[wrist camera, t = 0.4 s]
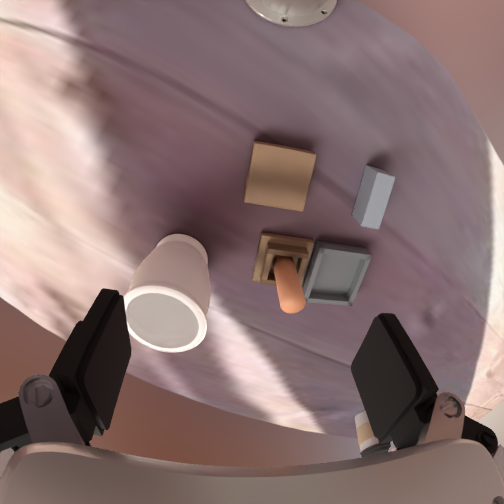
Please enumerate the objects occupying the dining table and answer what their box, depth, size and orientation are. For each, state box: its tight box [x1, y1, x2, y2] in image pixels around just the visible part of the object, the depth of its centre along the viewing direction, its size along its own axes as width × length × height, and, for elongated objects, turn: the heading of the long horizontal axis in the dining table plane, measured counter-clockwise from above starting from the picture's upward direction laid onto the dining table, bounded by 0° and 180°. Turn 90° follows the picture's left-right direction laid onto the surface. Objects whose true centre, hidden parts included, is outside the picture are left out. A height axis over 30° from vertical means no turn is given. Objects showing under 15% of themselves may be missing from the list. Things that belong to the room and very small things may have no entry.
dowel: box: [272, 255, 306, 313], centre depth 41 cm, size 3×3×10 cm
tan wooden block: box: [244, 141, 316, 211], centre depth 38 cm, size 8×8×3 cm
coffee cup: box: [355, 411, 391, 457], centre depth 68 cm, size 9×9×15 cm
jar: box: [124, 234, 211, 352], centre depth 39 cm, size 11×10×15 cm
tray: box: [302, 240, 372, 306], centre depth 46 cm, size 10×9×2 cm
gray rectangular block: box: [352, 165, 395, 229], centre depth 39 cm, size 8×3×4 cm, turn 170°
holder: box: [252, 232, 314, 285], centre depth 45 cm, size 8×8×3 cm
